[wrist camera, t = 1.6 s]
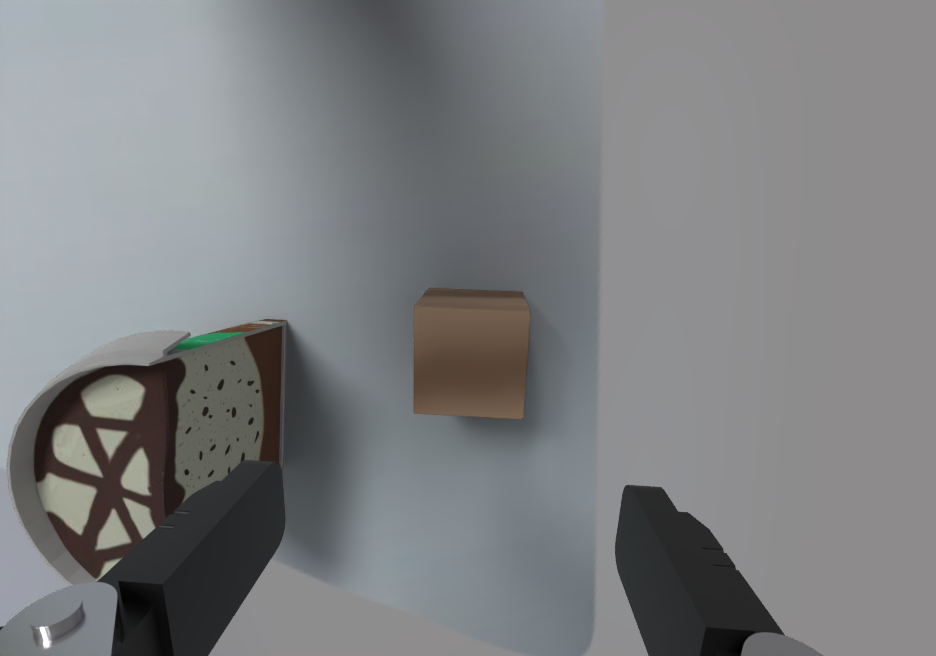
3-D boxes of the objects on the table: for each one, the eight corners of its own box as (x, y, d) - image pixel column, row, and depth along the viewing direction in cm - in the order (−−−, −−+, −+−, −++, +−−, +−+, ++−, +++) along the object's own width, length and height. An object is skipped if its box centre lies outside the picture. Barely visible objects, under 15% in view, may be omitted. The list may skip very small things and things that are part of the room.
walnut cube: (429, 287, 23) (413, 306, 18) (522, 291, 23) (531, 311, 18) (428, 374, 25) (413, 413, 20) (516, 378, 24) (522, 419, 20)
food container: (177, 278, 24) (-37, 322, 14) (287, 294, 24) (147, 348, 14) (186, 473, 27) (16, 617, 17) (282, 487, 27) (166, 640, 17)
